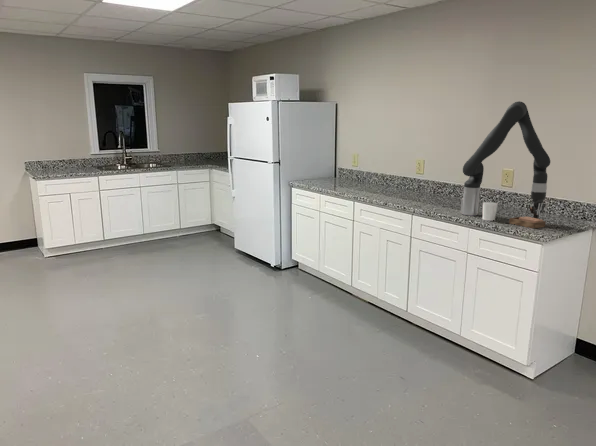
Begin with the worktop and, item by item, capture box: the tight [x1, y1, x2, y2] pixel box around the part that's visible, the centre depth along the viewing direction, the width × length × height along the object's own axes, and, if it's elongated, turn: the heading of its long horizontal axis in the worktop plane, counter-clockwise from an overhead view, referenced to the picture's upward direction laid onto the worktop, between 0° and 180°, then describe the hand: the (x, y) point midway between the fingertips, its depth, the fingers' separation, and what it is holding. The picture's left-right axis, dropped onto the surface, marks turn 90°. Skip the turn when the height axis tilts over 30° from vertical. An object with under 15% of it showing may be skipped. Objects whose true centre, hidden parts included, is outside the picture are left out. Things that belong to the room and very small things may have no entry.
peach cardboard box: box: [519, 216, 544, 223], centre depth 261 cm, size 10×7×4 cm
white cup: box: [482, 201, 498, 222], centre depth 272 cm, size 8×8×10 cm
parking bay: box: [508, 216, 546, 229], centre depth 260 cm, size 15×10×3 cm
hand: (535, 220), depth 264 cm, fingers closed
